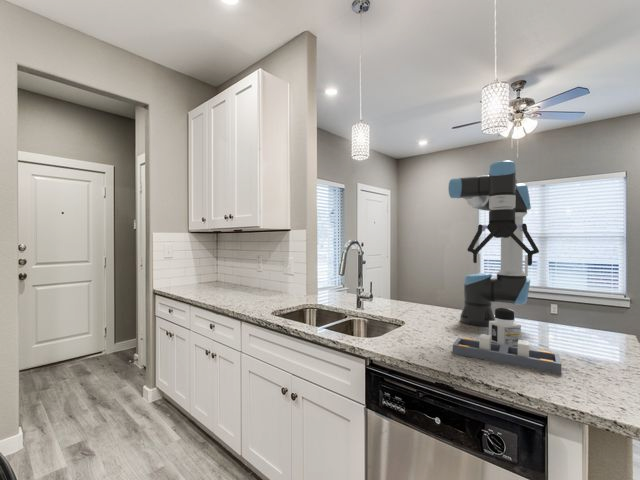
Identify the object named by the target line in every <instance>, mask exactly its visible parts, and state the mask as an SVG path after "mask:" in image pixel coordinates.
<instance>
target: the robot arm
mask: <svg viewBox="0 0 640 480" xmlns="http://www.w3.org/2000/svg"><path fill="white" fill-rule="evenodd" d="M488 171H489V172H488V175H478V176H466V177H465V176H464V177H457V178H451V179H449V182H448V189H447V190H448V194H449V195H448V196H449V198H451V199H463V200H465V201H466V203H467V204H468V206H469V207H470V206H471V207H472V208H474V209H477V210H480V211H487V212H488V224H487V225H485V224H479V225H478V226H477V227H478V228H477V232H476V233H475V235H474V236H473V239H472V240H471V242H470V244H469V245H468V247H467V252H470V253H471V254H472V255H473V256H472V257H473V259H472V260H473V261H472V262H473V264H476V273H473V274H467V275H466V276H465V277H464V284H463V286H464V287H463V288H464V292H463V293H464V297H463V299H464V301H463V302H464V303H463V308H462V310H461V313H460V315H459V318H460V319H459V321H460V322H461V323H464V324H466V325H471V326H478V327H489V321H495V313H494V311H493V307H492V303H501V304H510V305H511V304H512V305H525V304H527V302H528V297H529V291H530V284H531V279H530V278H527V277H528V274H529V272H528V271H529V270H528V268H529V266H532V265H533V255H535V254H539V252H540V250H539V248H538V246H537V245H536V243H535V241H534V240H533V238H532V236H531V235H530V233H529V231H528V227H527V224H526V223H524V218H525V216H526V215H527V214H528V211H529V210H531V208H532V206H531V205H532V204H531V201H530V200H531V199H530V194H529V187H528V184H525V183H518V181H517V177H516V176H517V174H516V173H517V168H516V162H514V161H512V160H501V161H500V160H499V161H495V162H492V163H491V164H490V165H489V169H488ZM486 229H487V230H488V231H489V234H488V235H487V236H486V237H485V238H483V240H482V241H481V242H480V243H479V244H478V246H476V245H477V243H478V241H479V239H480V237H481V235H482V234H483V232H485V231H486ZM523 236H525V238H526V239H527V241H528V243H529V245H530V246H531V248H532V249H530V248H529V247H527V245H525V243H524V240H523V239H524V237H523ZM492 238H495V239H499V238H500V270H499V271H498V272H496V276H493V275H492V273H488V272H486V273H482V272H481V253H479V252H480V251H481V250H482V249H483V248H484V247H485V246H486V245H487V243H489V242H490V240H492ZM475 247H476V248H475ZM523 251H524V252H525V253H527V254H525V255H524V254H523V253H524V252H523ZM523 255H524V256H523ZM523 258H524V264H523ZM523 265H524V270H523Z"/></svg>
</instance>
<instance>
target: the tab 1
mask: <svg viewBox="0 0 640 480" xmlns="http://www.w3.org/2000/svg"><path fill="white" fill-rule="evenodd" d="M478 339H479V340H478V341H479V348H480V349H485V350H491V343H492V341H491V335H489V334H485V333H481V334H480V336H479V338H478Z"/></svg>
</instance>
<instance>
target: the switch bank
mask: <svg viewBox="0 0 640 480" xmlns="http://www.w3.org/2000/svg"><path fill="white" fill-rule="evenodd" d="M452 354H453V355H457V356H458V355H459V356H463V357H469V358H474V359H480V360H485V361H490V362H494V363H500V364H506V365H510V366H516V367H521V368H522V367H523V368H527V369H532V370H538V371H541V372H548V373H551V374H552V373H553V374H558V375H562V361H561V356H560V354H559V353H554V352H551V351H546V350H536V349H530V348H529V357H525V356H520V355H518V346H507V345H501V344H497V343H494V342H491V350H485V349H480V348H479V340H474V338H467V337H457V338H456V340H455V341H454V342H453V343H452Z"/></svg>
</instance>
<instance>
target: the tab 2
mask: <svg viewBox="0 0 640 480" xmlns="http://www.w3.org/2000/svg"><path fill="white" fill-rule="evenodd" d="M517 347H518V355H520V356H525V357H529V349H530V341H529V340H525V339H523V340H522V339H521V340H518V345H517Z"/></svg>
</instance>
